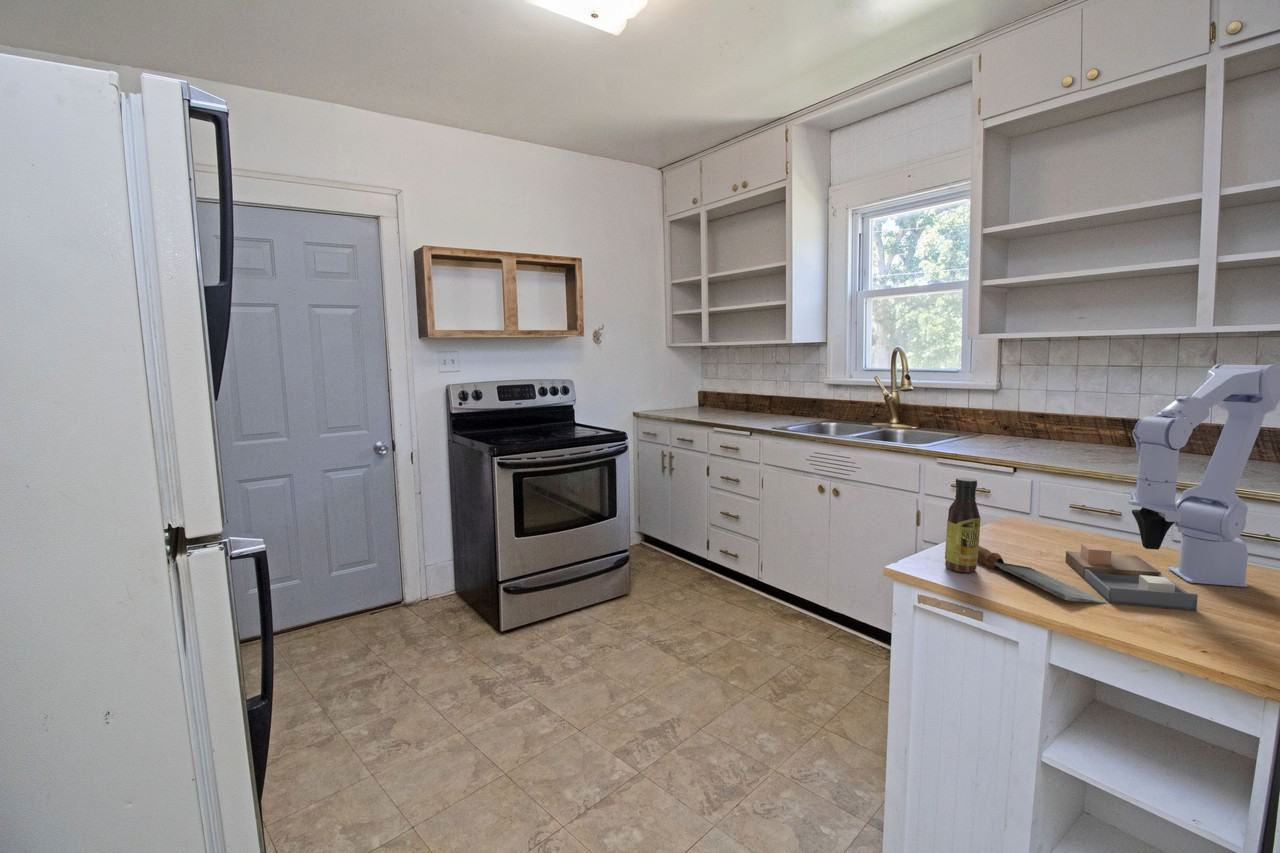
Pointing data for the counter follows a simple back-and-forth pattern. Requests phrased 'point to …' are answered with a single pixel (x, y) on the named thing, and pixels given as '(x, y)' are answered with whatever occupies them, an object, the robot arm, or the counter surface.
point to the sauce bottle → (963, 528)
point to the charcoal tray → (1138, 592)
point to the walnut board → (1112, 565)
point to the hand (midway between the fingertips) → (1150, 548)
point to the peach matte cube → (1095, 554)
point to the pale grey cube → (1155, 583)
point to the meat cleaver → (1035, 578)
